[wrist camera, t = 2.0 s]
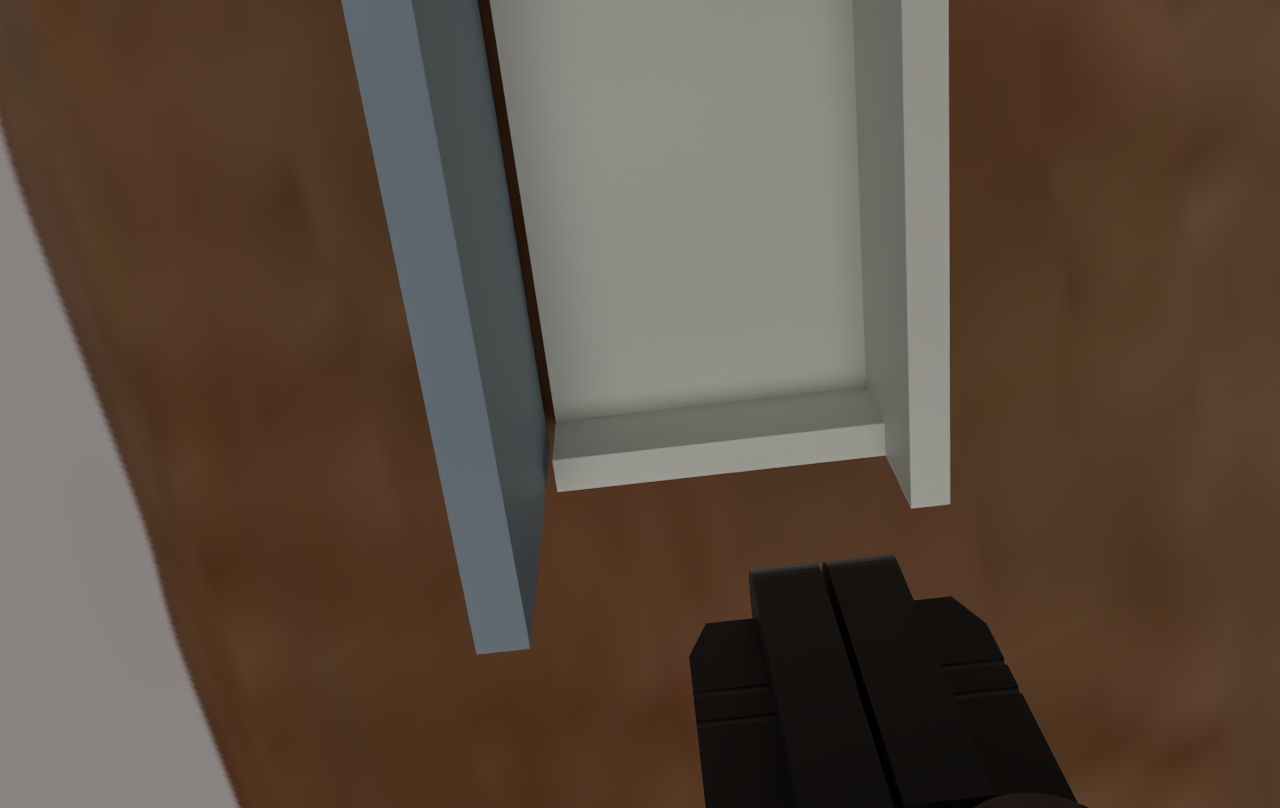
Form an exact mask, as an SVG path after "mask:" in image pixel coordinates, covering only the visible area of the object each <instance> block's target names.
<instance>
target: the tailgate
mask: <svg viewBox="0 0 1280 808" xmlns="http://www.w3.org/2000/svg"><path fill="white" fill-rule="evenodd" d="M341 2H342V6H343V11H344V16H345V21H346V26H347V31H348V35H349V40H350V45H351V50H352V55H353V60H354V64H355V69H356V74H357V79H358V84H359V89H360V93H361V98H362V103H363V108H364V113H365V118H366V122H367V127H368V132H369V137H370V142H371V147H372V151H373V156H374V161H375V166H376V171H377V176H378V180H379V185H380V190H381V195H382V200H383V205H384V209H385V214H386V219H387V224H388V229H389V234H390V238H391V243H392V248H393V253H394V258H395V263H396V267H397V272H398V277H399V282H400V287H401V292H402V296H403V301H404V306H405V311H406V316H407V321H408V325H409V330H410V335H411V340H412V345H413V350H414V355H415V359H416V364H417V369H418V374H419V379H420V384H421V388H422V393H423V398H424V403H425V408H426V413H427V417H428V422H429V427H430V432H431V437H432V442H433V446H434V451H435V456H436V461H437V466H438V471H439V475H440V480H441V485H442V490H443V495H444V500H445V504H446V509H447V514H448V519H449V524H450V529H451V533H452V538H453V543H454V548H455V553H456V558H457V562H458V567H459V572H460V577H461V582H462V587H463V591H464V596H465V601H466V606H467V611H468V616H469V620H470V625H471V630H472V635H473V640H474V645H475V649H476V654H486V653H495V652H504V651H513V650H522V649H530V647H531V636H532V626H533V615H534V605H535V594H536V584H537V574H538V563H539V553H540V542H541V532H542V521H543V511H544V501H545V490H546V480H547V469H548V459H549V449H550V446H549V440H548V434H547V428H546V421H545V415H544V409H543V403H542V397H541V390H540V384H539V378H538V372H537V366H536V359H535V353H534V347H533V341H532V335H531V328H530V322H529V316H528V310H527V303H526V297H525V291H524V285H523V279H522V272H521V266H520V260H519V254H518V248H517V241H516V235H515V229H514V223H513V217H512V210H511V204H510V198H509V192H508V186H507V179H506V173H505V167H504V161H503V154H502V148H501V142H500V136H499V130H498V123H497V117H496V111H495V105H494V99H493V92H492V86H491V80H490V74H489V68H488V61H487V55H486V49H485V43H484V37H483V30H482V24H481V18H480V12H479V5H478V0H341Z"/></svg>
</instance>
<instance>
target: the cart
mask: <svg viewBox="0 0 1280 808" xmlns="http://www.w3.org/2000/svg"><path fill="white" fill-rule="evenodd" d="M490 6H491V12H492V19H493V25H494V32H495V38H496V44H497V51H498V57H499V63H500V70H501V76H502V82H503V89H504V95H505V102H506V108H507V114H508V121H509V127H510V133H511V140H512V146H513V152H514V159H515V165H516V172H517V178H518V184H519V191H520V197H521V203H522V210H523V216H524V223H525V229H526V235H527V242H528V248H529V254H530V261H531V267H532V273H533V280H534V286H535V293H536V299H537V305H538V312H539V318H540V324H541V331H542V337H543V343H544V350H545V356H546V363H547V369H548V375H549V382H550V388H551V394H552V401H553V407H554V414H555V420H556V426H555V437H554V448H553V459H552V461H553V467H554V474H555V480H556V486H557V492H563V491H572V490H581V489H589V488H598V487H607V486H616V485H625V484H634V483H643V482H652V481H661V480H670V479H679V478H688V477H697V476H705V475H714V474H723V473H732V472H741V471H750V470H759V469H768V468H777V467H786V466H795V465H804V464H813V463H821V462H830V461H839V460H848V459H857V458H866V457H875V456H884V455H886V458H887V460H888V462H889V464H890V466H891V468H892V470H893V472H894V474H895V476H896V478H897V480H898V482H899V485H900V487H901V489H902V491H903V493H904V495H905V497H906V499H907V501H908V503H909V505H910V507H911V508H920V507H929V506H938V505H947V504H950V275H949V0H490Z"/></svg>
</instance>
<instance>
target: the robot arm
mask: <svg viewBox="0 0 1280 808" xmlns="http://www.w3.org/2000/svg"><path fill="white" fill-rule="evenodd" d="M749 584H750V597H751V608H752V619H743V620H734V621H725V622H716V623H707V624H706V625H705V627H704V629H703V631H702V633H701V635H700V637H699V638H698V640H697V642H696V644H695V646H694V648H693V650H692V652H691V654H690V656H689V658H690V667H691V676H692V685H693V694H694V704H695V713H696V722H697V731H698V741H699V750H700V759H701V768H702V777H703V787H704V796H705V805H706V808H1088V807H1087V806H1085V805H1082V804H1080V803H1078V802H1077V800H1076V799H1075V797H1074V795H1073V793H1072V791H1071V789H1070V787H1069V785H1068V783H1067V781H1066V779H1065V777H1064V775H1063V773H1062V771H1061V769H1060V767H1059V765H1058V763H1057V761H1056V759H1055V757H1054V755H1053V753H1052V752H1051V750H1050V748H1049V746H1048V744H1047V742H1046V740H1045V738H1044V736H1043V734H1042V732H1041V730H1040V728H1039V726H1038V724H1037V722H1036V720H1035V718H1034V716H1033V714H1032V712H1031V710H1030V708H1029V706H1028V704H1027V702H1026V700H1025V698H1024V697H1023V695H1022V693H1021V694H1020V693H1019V689H1018V685H1017V683H1016V681H1015V679H1014V677H1013V675H1012V673H1011V671H1010V669H1009V667H1008V665H1005V663H1004V657H1003V655H1002V653H1001V651H1000V649H999V647H998V645H997V643H996V641H995V639H994V638H993V636H992V634H991V632H990V630H989V628H988V626H987V624H986V623H985V622H984V621H982V620H981V619H980V618H978V617H977V616H976V615H975V614H973V613H972V612H971V611H969V610H968V609H967V608H966V607H964V606H963V605H962V604H960V603H959V602H958V601H956V600H955V599H954V598H953V597H951V596H950V597H941V598H932V599H923V600H913V597H912V595H911V593H910V590H909V588H908V586H907V583H906V581H905V579H904V576H903V574H902V572H901V569H900V567H899V564H898V562H897V560H896V558H895V557H894V555H883V556H874V557H865V558H856V559H847V560H838V561H829V562H823V566H822V572H821V569H820V567H819V565H818V563H813V564H804V565H795V566H786V567H777V568H768V569H759V570H750V571H749Z"/></svg>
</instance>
